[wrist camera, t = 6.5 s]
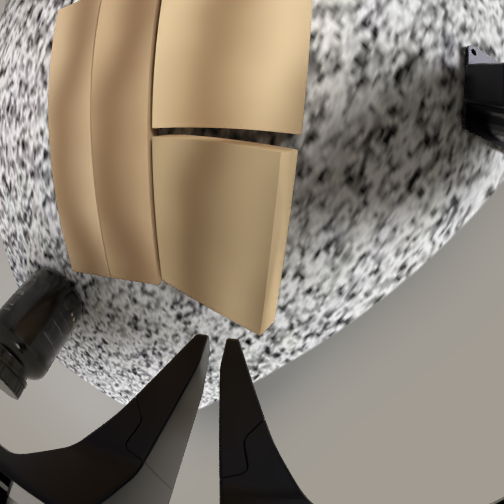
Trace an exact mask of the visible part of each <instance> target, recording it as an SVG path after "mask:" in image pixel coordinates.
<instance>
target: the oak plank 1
mask: <svg viewBox="0 0 504 504" xmlns="http://www.w3.org/2000/svg"><path fill="white" fill-rule="evenodd" d="M311 12H312V0H162V3H161V10H160V17H159V25H158V33H157V43H156V54H155V66H154V82H153V108H152V128H171V127H204V128H232V129H248V130H261V131H272V132H282V133H291V134H299V135H302V126H303V116H304V106H305V95H306V84H307V72H308V59H309V45H310V30H311Z"/></svg>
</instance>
